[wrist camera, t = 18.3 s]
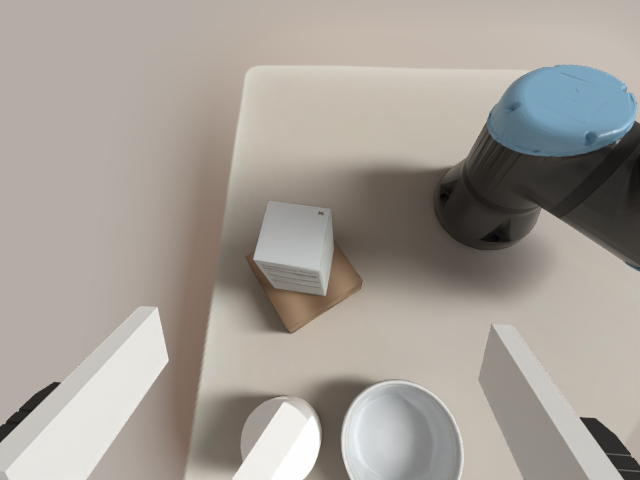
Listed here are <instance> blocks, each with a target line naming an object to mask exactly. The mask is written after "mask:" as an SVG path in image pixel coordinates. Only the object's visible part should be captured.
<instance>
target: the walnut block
mask: <svg viewBox="0 0 640 480" xmlns="http://www.w3.org/2000/svg"><path fill="white" fill-rule="evenodd" d="M333 243H334V251H333V258H332V264H331V270H330V276H329V281H328V287H327V292H326V296H321V295H314V294H308V293H302V292H296V291H290V290H284V289H277V288H274V287H273V285H272V284H271V283H270V281H269V280H268V279H267V277H266V276H265V275H264V273H263V272H262V271H261V270H260V268H259V267H258V265H257V264H256V263H255V261H254V260H253V257H254V253H255V252H253V253H251V254H249V255H248V256H246V257H245V258H246V259H247V261H248V263H249V265H250V266H251V268H252V270H253V271H254V273H255V275H256V277H257V278H258V280H259V282H260V284H261V285H262V287H263V289H264V290H265V292H266V294H267V296H268V297H269V299H270V301H271V302H272V304H273V306H274V308H275V309H276V311H277V313H278V314H279V316H280V318H281V320H282V321H283V323H284V325H285V327H286V328H287V330H288V331H289V332H290V333H291V334H292V333H294V332H295V331H297V330H298V329H300V328H301V327H303V326H304V325H306V324H307V323H309V322H311V321H312V320H314V319H315V318H317V317H318V316H320V315H321V314H323V313H324V312H326V311H327V310H329V309H331V308H332V307H334V306H335V305H337V304H338V303H340V302H341V301H343V300H344V299H346V298H347V297H349V296H351V295H352V294H354V293H355V292H357V291H358V290H360V289H361V286H362V281H363V280H362V279H361V278H360V276H359V275H358V273H357V272H356V271H355V269H354V268H353V266H352V265H351V264H350V262H349V261H348V259H347V258H346V256H345V255H344V254H343V252H342V251H341V249H340V248H339V247H338V245H337V244H336V242H335V241H334V240H333Z"/></svg>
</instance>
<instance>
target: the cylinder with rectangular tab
mask: <svg viewBox="0 0 640 480" xmlns="http://www.w3.org/2000/svg"><path fill="white" fill-rule="evenodd" d="M321 441H322V426H321V423H320V419H319V417H318V415H317V413H316V411H315V410H314V408H313V407H312V406H311V405H310V404H309V403H308V402H306V401H305V400H303V399H301V398H299V397H295V396H281V397H277V398H273V399H270V400H268V401H265V402H263V403H262V404H261V405H259V406H258V407H256V408H255V410H254V411H253V412H252V413H251V414H250V415H249V417H248V419H247V421H246V423H245V425H244V427H243V431H242V435H241V446H240V450H241V455H242V460H243V464H242V465H241V467H240V468H239V470H238V471H237V473H236V474H235V476H234V477H233V479H232V480H303V479H304V478H305V477H306V476H307V475H308V473H309V472H310V471H311V470H312V468H313V466H314V464H315V461H316V459H317V457H318V453H319V450H320V446H321Z"/></svg>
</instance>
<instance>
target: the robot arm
mask: <svg viewBox="0 0 640 480" xmlns="http://www.w3.org/2000/svg"><path fill="white" fill-rule="evenodd" d="M626 91H627V86H626V85H625V84H624V83H623V82H622V81H620V80H619V79H617V78H616V77H614V76H612V75H610V74H608V73H606V72H603V71H601V70H598V69H594V68H590V67H585V66H578V65H556V66H554V67H543V68H540V69H537V70H534V71H531V72H529V73H527V74H525V75H523V76H521V77H520V78H519V79H517V80H516V81H515V82H513V83H512V84H511V85H510V86H509V88H508V89H507V90H506V91H505V93H504V94H503V96H502V97H501V99H500V100H499V102H498V103H497V104H496V105H495V106H494V107H493V109H492V110H491V112H490V113H489V117H488V119H487V122H486V124H485V126H484V127H483V129H482V131H481V133H480V135H479V136H478V138H477V140H476V142H475V144H474V145H473V147H472V149H471V151H470V153H469V154H468V156H467V158H465V159H464V160H462V161H461V162H459V163H458V164H457V165H455V166H454V167H452V168H451V169H450V170H449V171H448V172H447V173H446V174H445V175H444V176H443V178H442V179H441V181H440V183H439V185H438V187H437V190H436V192H435V197H434V207H435V212H436V215H437V217H438V220H439V222H440V223H441V225H442V226H443V228H444V229H445V230H446V231H447V232H448V233H449V234H450V235H451V236H452V237H454V238H455V239H456V240H458V241H460V242H461V243H463V244H465V245H468V246H470V247H474V248H477V249H483V250H498V249H503V248H506V247H509V246H512V245H513V244H515V243H517V242H518V241H520V240H521V239H522V238H523V237H525V236H526V235H527V234H528V233H529V232H530V231H531V230H532V228H533V227H534V225H535V224H536V221H537V219H538V216H539V214H540V211H541V208H543V209H545V210H546V211H548V212H549V213H551V214H553V215H554V216H556V217H557V218H559V219H560V220H562V221H563V222H565V223H567V224H568V225H570V226H571V227H573V228H574V229H576V230H577V231H579V232H580V233H582V234H583V235H585V236H586V237H588V238H589V239H591V240H592V241H594V242H595V243H597V244H598V245H600V246H602V247H603V248H605V249H606V250H608V251H609V252H611V253H612V254H614V255H615V256H617V257H618V258H620V259H621V260H623V261H624V262H625V263H626V264H627V265H628V266H630V267H631V268H634V269H635V270H637V271H640V123H638V122H636V121H635V117H636V115H637V110H638V108H637V102H636V99H635V96H634V95H633V94H632V93H627V92H626ZM168 361H169V360H168V355H167V350H166V346H165V341H164V336H163V331H162V327H161V322H160V318H159V313H158V308H157V307H145V306H139V307H138V308H137V309H136V310H135V311H134V312H133V313H132V314H131V315H130V316H129V317H128V318H127V319H126V320H125V321H124V322H123V323H122V324H121V325H120V326H119V327H118V328H117V329H116V330H115V331H114V332H113V333H112V334H111V335H109V336H108V337H107V338H106V340H104V341H103V342H102V343H101V344H100V345H99V346H98V347H97V348H96V349H95V350H94V351H93V352H92V353H91V354H90V355H89V356H88V357H87V358H86V359H85V360H84V361H83V362H82V363H81V364H80V365H79V366H78V367H77V368H76V369H75V370H74V371H73V372H72V373H71V374H70V375H69V376H68V377H67V378H66V379H65V380H64V381H63V382H62V383H59V382H54V383H52V384H50V385H49V386H47V387H46V388H44V389H43V390H41V391H39V392H38V393H36V394H35V395H34V396H33V397H31V399H29V400H28V401H27V402H26V403H25V404H24V405H23V406H22V407H21V408H20V409H19V411H18V412H16V413H14V414H13V415H12V416H11V417H10V418H9V419H8V420H7V421H6V424H3V425H2V426H0V480H86V479H87V478H88V476H89V475H90V473H91V472H92V470H93V469H94V468H95V466H96V465H97V463H98V462H99V460H100V459H101V458H102V456H103V455H104V453H105V452H106V450H107V449H108V447H109V446H110V444H111V443H112V442H113V440H114V439H115V437H116V436H117V434H118V433H119V432H120V430H121V429H122V427H123V426H124V424H125V423H126V421H127V420H128V419H129V417H130V416H131V414H132V413H133V411H134V410H135V409H136V407H137V406H138V404H139V403H140V401H141V400H142V398H143V397H144V396H145V394H146V393H147V391H148V390H149V388H150V387H151V385H152V384H153V382H154V381H155V379H156V378H157V377H158V375H159V374H160V372H161V371H162V370H163V368H164V366H165V365H166V364H167V362H168ZM478 380H479V383H480V385H481V387H482V389H483V391H484V394H485V396H486V398H487V400H488V402H489V404H490V407H491V409H492V411H493V413H494V415H495V418H496V420H497V422H498V424H499V426H500V429H501V431H502V433H503V435H504V437H505V439H506V442H507V444H508V446H509V448H510V450H511V453H512V455H513V457H514V459H515V461H516V464H517V466H518V468H519V470H520V472H521V475H522V477H523V479H524V480H640V465H639V464H638V463H637V461H636V460H635V459H634V458H632V457H631V454H630V452H629V451H628V450H627V449H626V447H625V446H624V445H623V444H622V442H621V441H620V440H619V439H618V437H617V436H616V435H615V434H614V433H613V432H611V431H610V430H609V429H608V428H607V427H605V426H604V425H603V424H602V423H600V422H599V421H598V420H597V419H596V418H583V417H578V415H577V414H576V413H575V411H574V410H573V408H572V407H571V406H570V404H569V403H568V401H567V400H566V399H565V397H564V396H563V394H562V393H561V392H560V390H559V389H558V387H557V386H556V385H555V383H554V382H553V381H552V379H551V378H550V376H549V375H548V374H547V372H546V371H545V369H544V368H543V367H542V365H541V364H540V362H539V361H538V360H537V358H536V357H535V356H534V354H533V353H532V351H531V350H530V349H529V347H528V346H527V344H526V343H525V342H524V340H523V339H522V337H521V336H520V335H519V333H518V332H517V330H516V329H515V328H514V326H513V325H503V324H491V328H490V332H489V337H488V341H487V345H486V349H485V354H484V358H483V362H482V366H481V371H480V375H479V379H478Z"/></svg>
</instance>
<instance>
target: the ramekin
mask: <svg viewBox="0 0 640 480" xmlns="http://www.w3.org/2000/svg"><path fill="white" fill-rule="evenodd" d="M341 451H342V457H343V461H344V465H345V468H346V471H347V474H348V476H349V478H350V480H460V478H461V475H462V470H463V462H464V451H463V443H462V438H461V434H460V431H459V428H458V425H457V423H456V421H455V419H454V417H453V415H452V413H451V412H450V410H449V409H448V407H447V406H446V405H445V404H444V403H443V401H442V400H441V399H440V398H439V397H437V396H436V395H435V394H434V393H433V392H431V391H430V390H428V389H427V388H425V387H423V386H421V385H419V384H416V383H413V382H410V381H406V380H398V379H392V380H384V381H380V382H377V383H375V384H372V385H370V386H369V387H367V388H365V389H364V390H363V391H362V392H360V393H359V394H358V395H357V396H356V397H355V399H354V400H353V401H352V403H351V404H350V406H349V408H348V410H347V412H346V415H345V417H344V421H343V425H342V431H341Z"/></svg>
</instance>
